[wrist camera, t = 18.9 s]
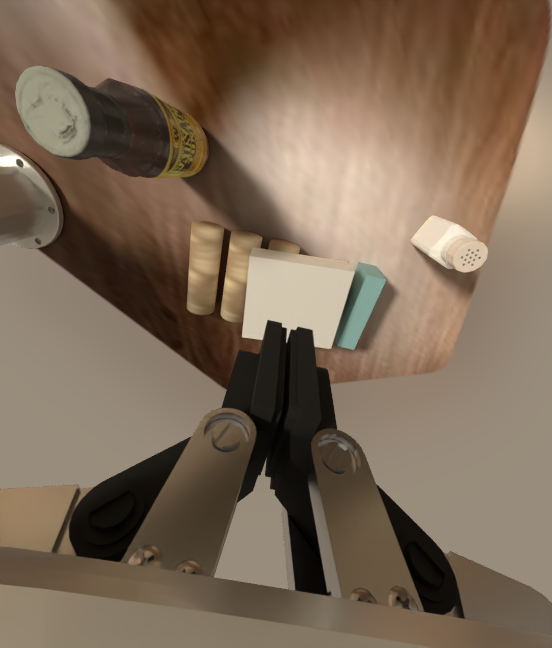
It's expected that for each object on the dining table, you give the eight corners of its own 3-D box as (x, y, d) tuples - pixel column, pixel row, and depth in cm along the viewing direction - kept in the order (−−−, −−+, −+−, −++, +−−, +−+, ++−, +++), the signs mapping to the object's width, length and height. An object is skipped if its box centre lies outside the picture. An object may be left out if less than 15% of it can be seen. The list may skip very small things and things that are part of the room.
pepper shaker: (429, 256, 37) (468, 283, 28) (407, 240, 36) (440, 264, 28) (453, 229, 35) (502, 251, 27) (430, 212, 34) (473, 228, 26)
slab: (245, 323, 39) (241, 337, 36) (252, 247, 33) (249, 256, 30) (327, 334, 40) (330, 349, 37) (348, 261, 34) (354, 271, 31)
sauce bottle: (214, 176, 33) (130, 192, 16) (165, 176, 34) (30, 192, 17) (207, 108, 30) (91, 39, 13) (152, 109, 30) (-33, 43, 13)
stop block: (332, 327, 43) (337, 346, 39) (358, 262, 38) (366, 275, 33) (348, 331, 43) (353, 349, 39) (376, 266, 38) (386, 279, 33)
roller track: (191, 298, 42) (182, 311, 39) (197, 219, 36) (186, 225, 33) (328, 329, 43) (331, 344, 40) (356, 257, 37) (362, 267, 34)
